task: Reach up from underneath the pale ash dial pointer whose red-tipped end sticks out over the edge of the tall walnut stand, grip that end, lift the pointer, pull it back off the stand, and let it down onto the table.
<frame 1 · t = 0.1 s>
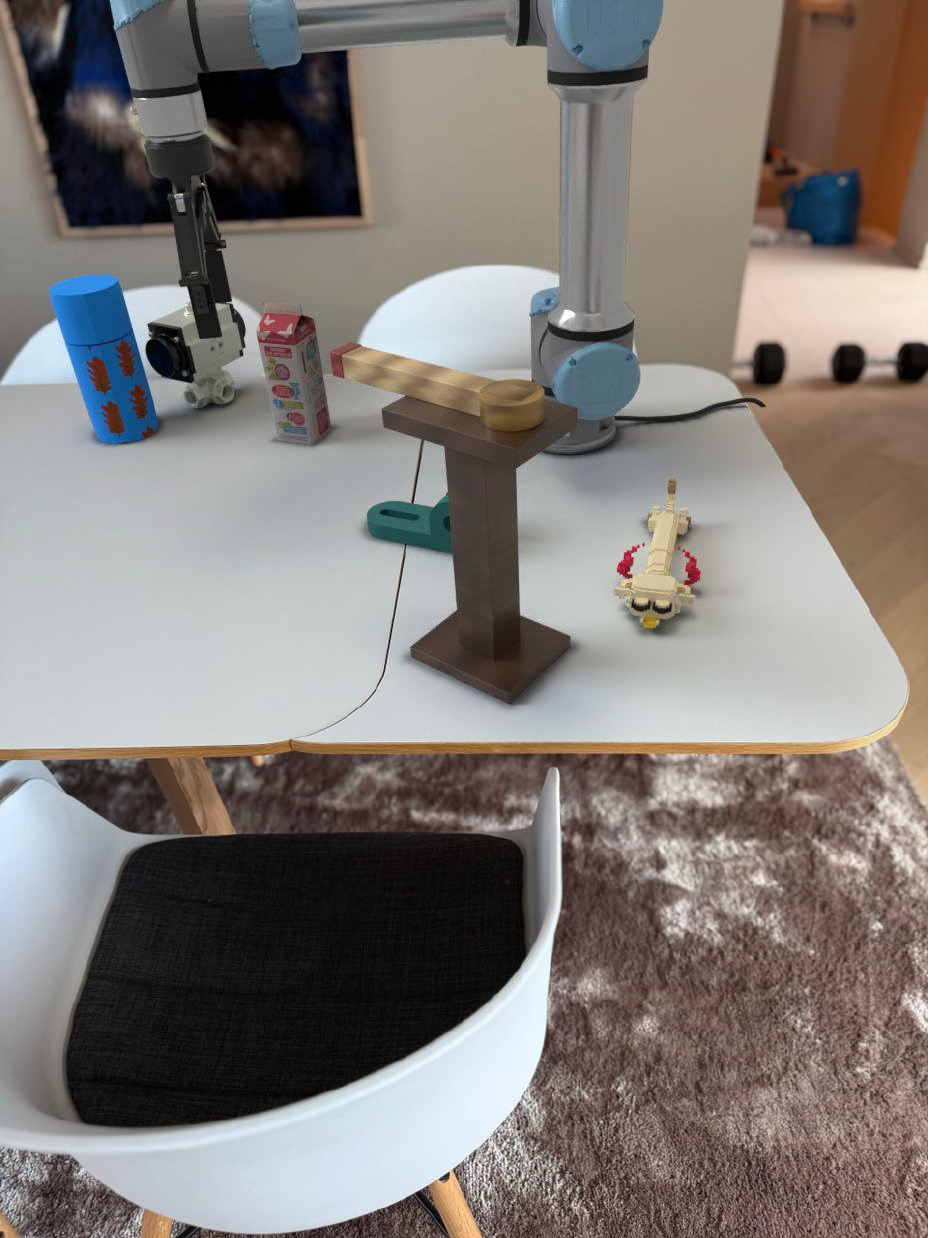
hand: (216, 319, 118), 28 cm above the table, tool pointing down, fingers open, 13 cm apart
cream toy animal figure: (659, 577, 115), on the table
pointer: (430, 394, 90), point 30 cm above the table, touching stand
thermos: (128, 431, 159), on the table
bracket: (428, 535, 126), on the table
ball valve: (214, 402, 167), on the table
juice carton: (304, 435, 154), on the table
stand: (490, 651, 105), on the table
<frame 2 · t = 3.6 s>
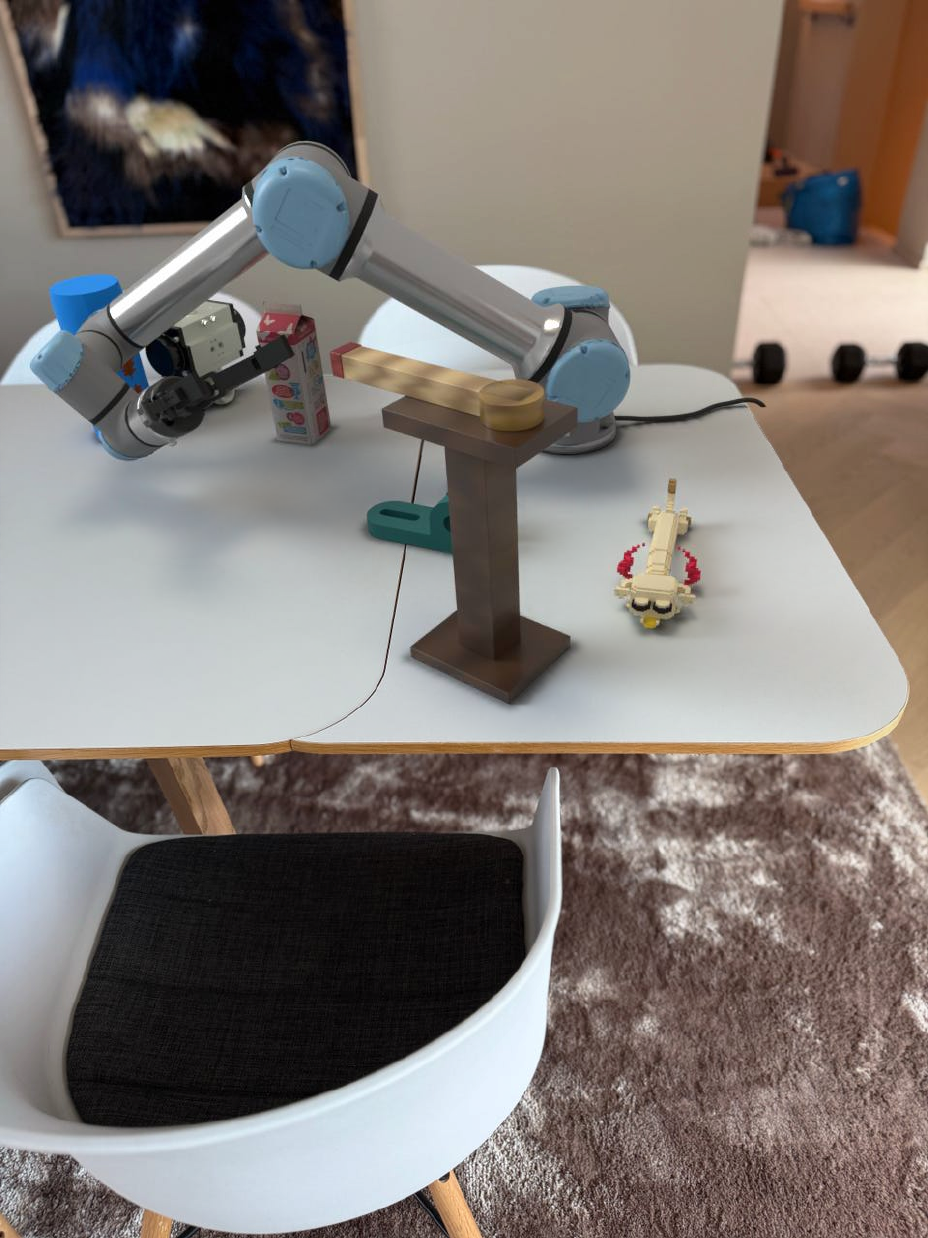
hand: (245, 363, 107), 27 cm above the table, tool pointing upward, fingers open, 13 cm apart
nothing on the table moved.
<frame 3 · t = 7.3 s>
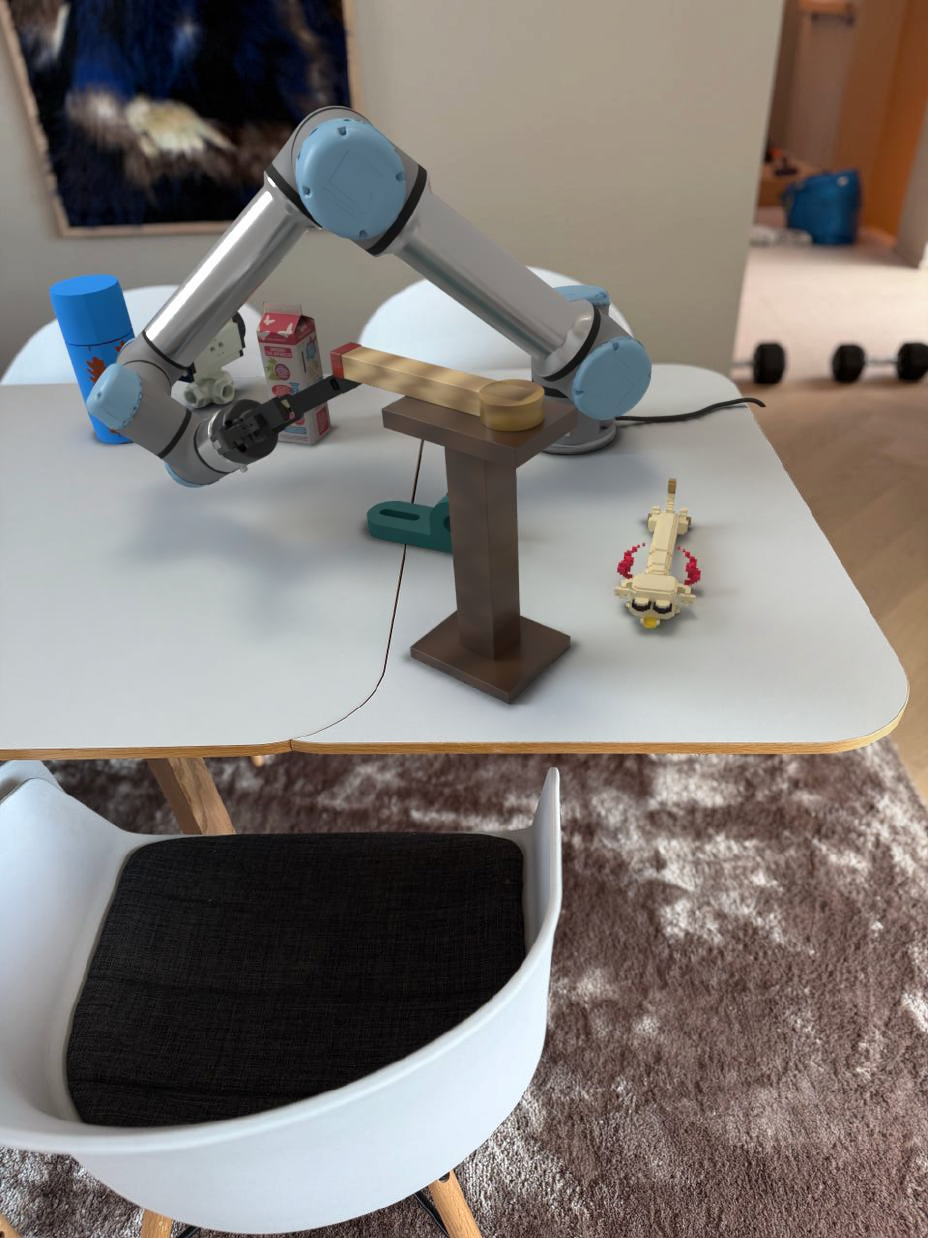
hand: (328, 385, 99), 28 cm above the table, tool pointing upward, fingers open, 13 cm apart
nothing on the table moved.
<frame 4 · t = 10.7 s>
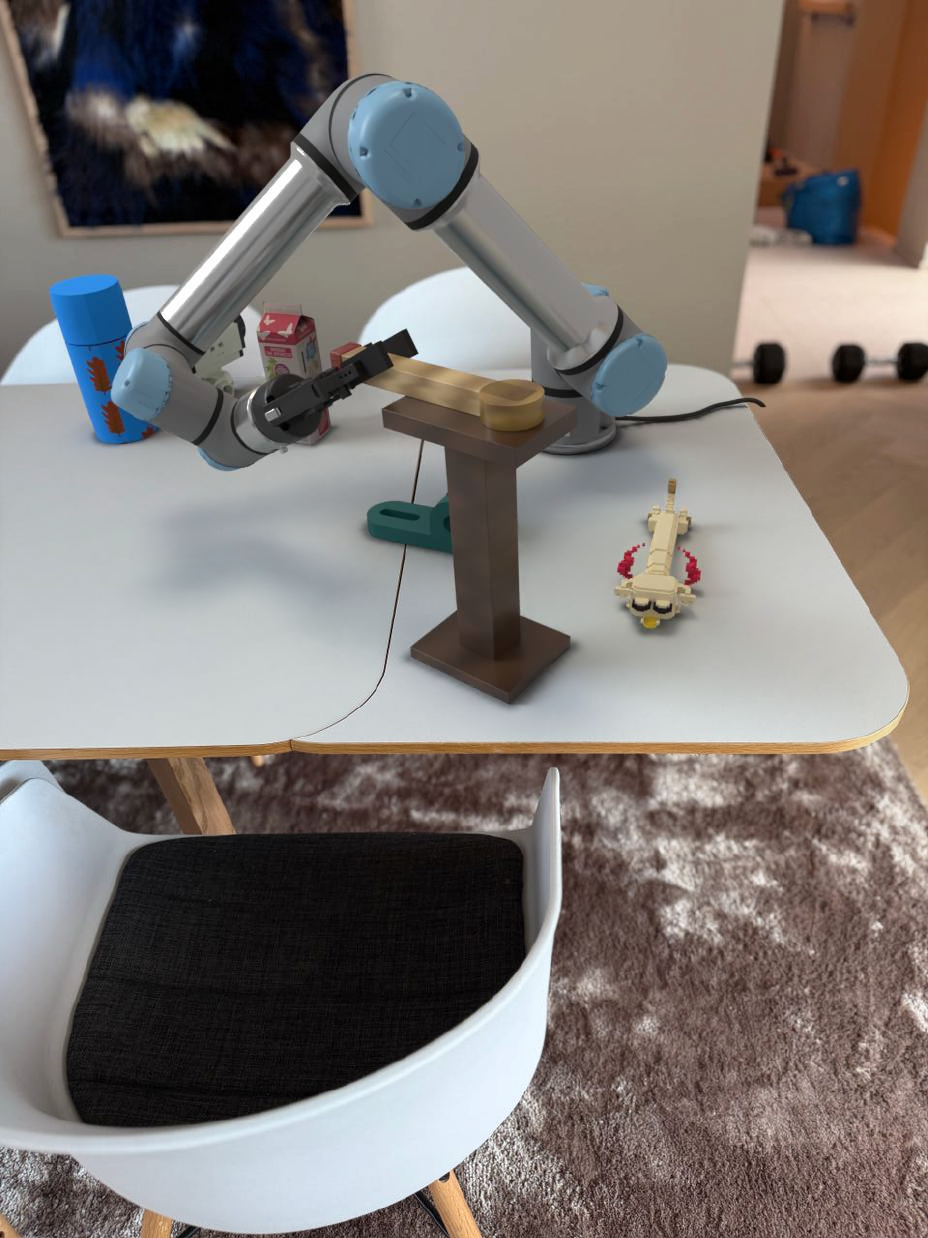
hand: (397, 348, 89), 34 cm above the table, tool pointing upward, fingers closed on pointer, 3 cm apart
pointer: (430, 394, 90), point 30 cm above the table, touching gripper, stand
everything else where it was.
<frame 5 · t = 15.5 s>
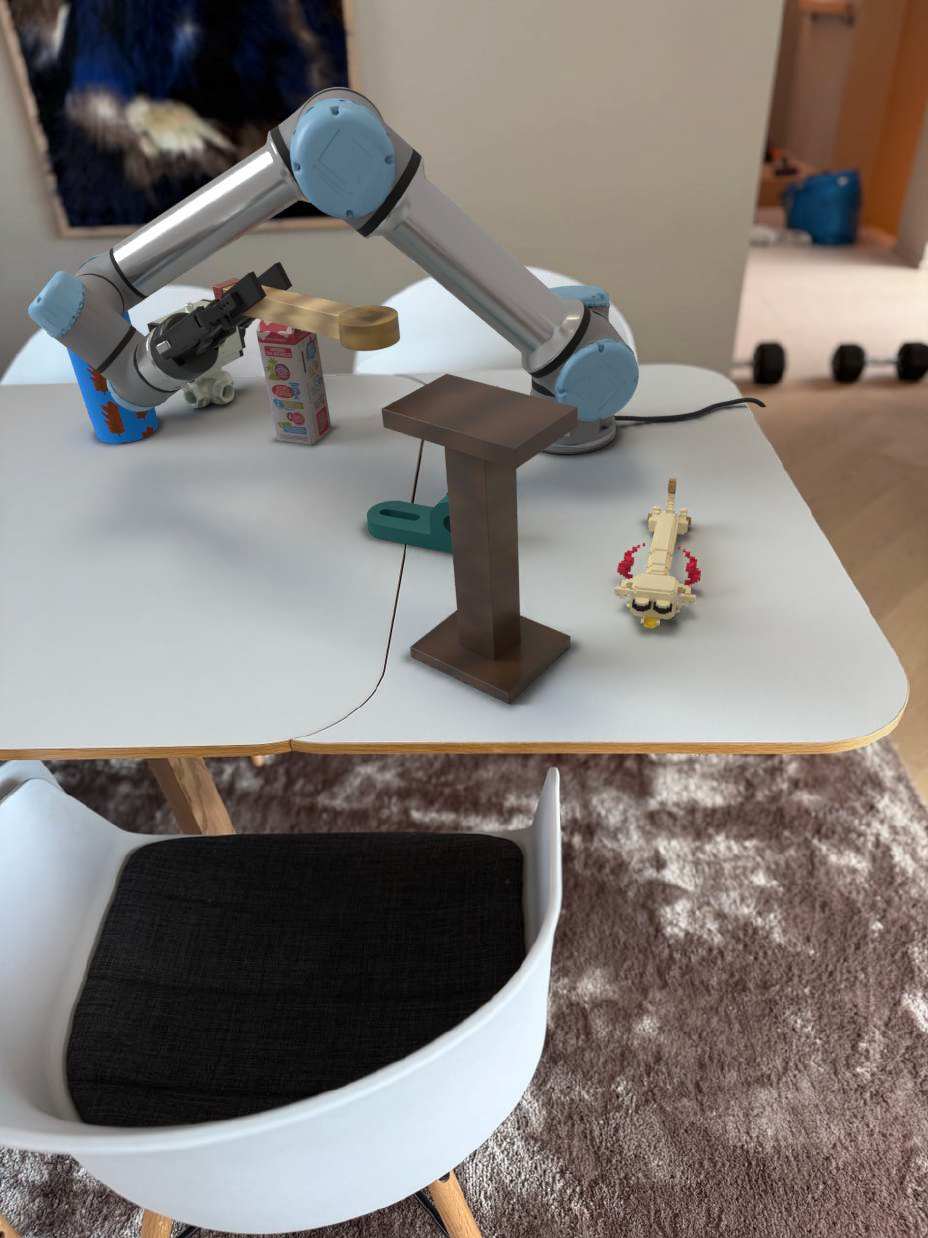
hand: (270, 279, 96), 38 cm above the table, tool pointing upward, fingers closed on pointer, 3 cm apart
pointer: (301, 323, 97), point 34 cm above the table, touching gripper
everything else where it was.
when the fingers open (23 cm above the table, at t = 20.3 s): pointer drops 19 cm, on the table.
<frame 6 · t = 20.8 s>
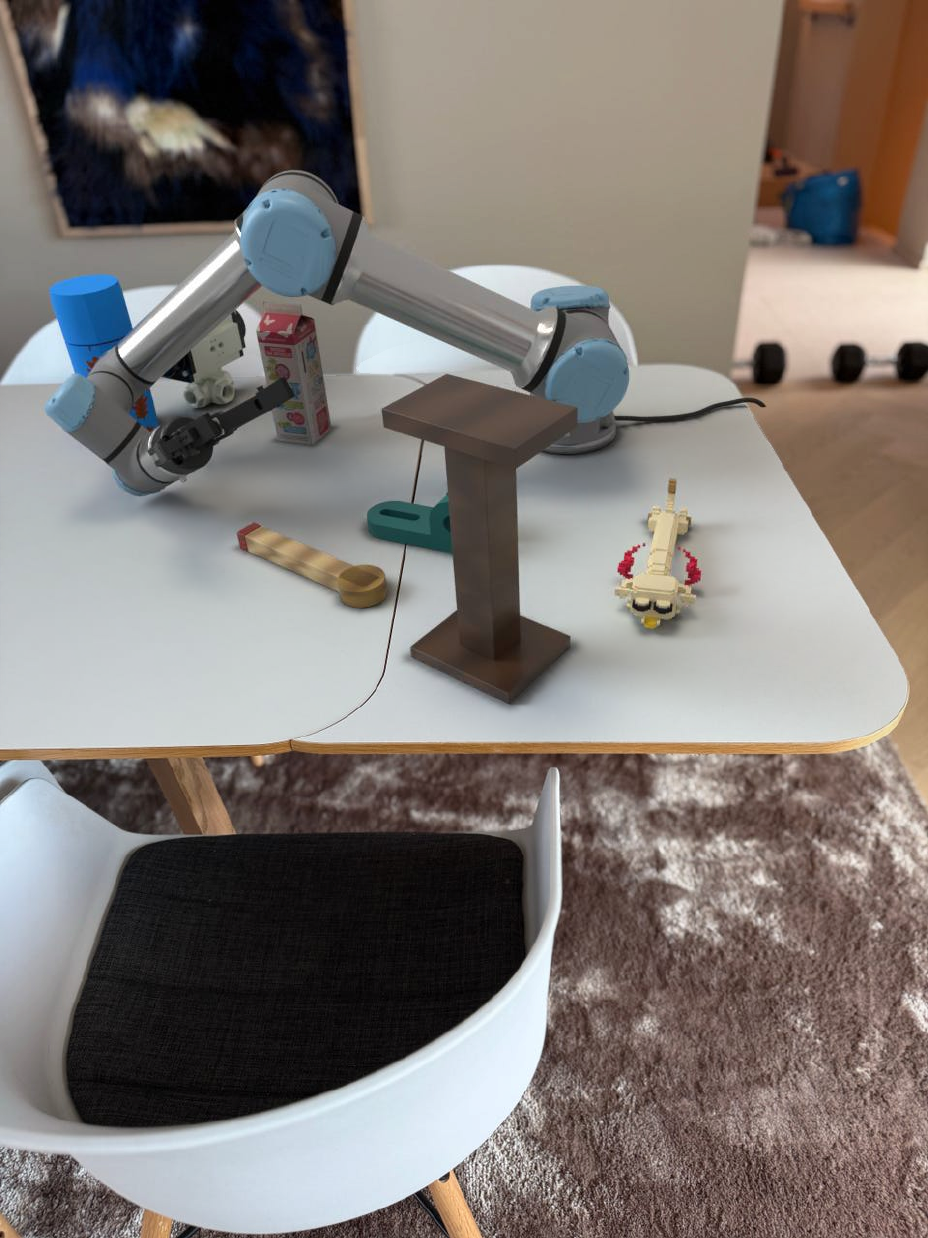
hand: (251, 404, 110), 22 cm above the table, tool pointing upward, fingers open, 11 cm apart
pointer: (308, 569, 121), on the table
everything else where it was.
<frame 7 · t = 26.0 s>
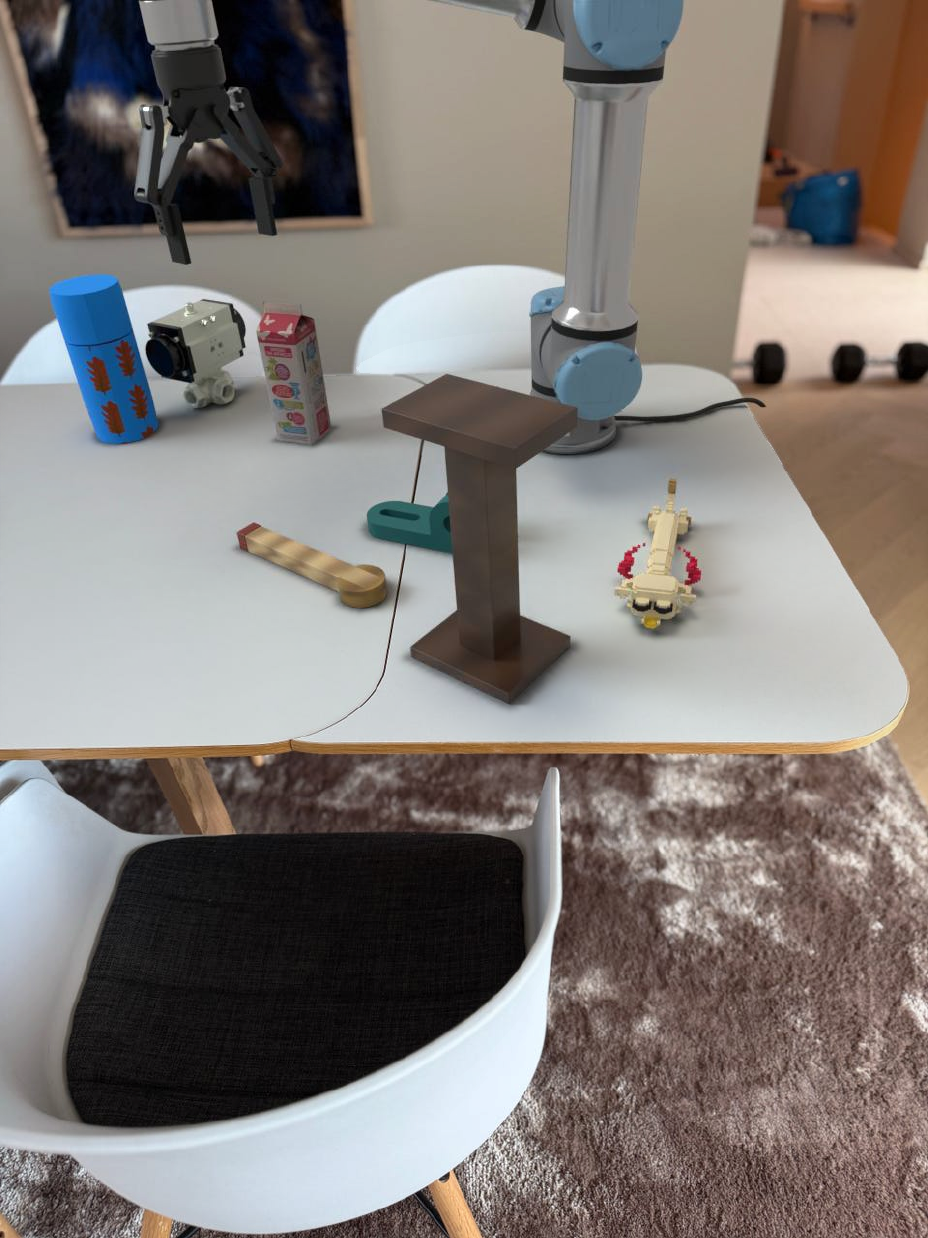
hand: (226, 248, 112), 37 cm above the table, tool pointing down, fingers open, 13 cm apart
nothing on the table moved.
at the end: pointer touching table; pointer on the table; the gripper is holding nothing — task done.
